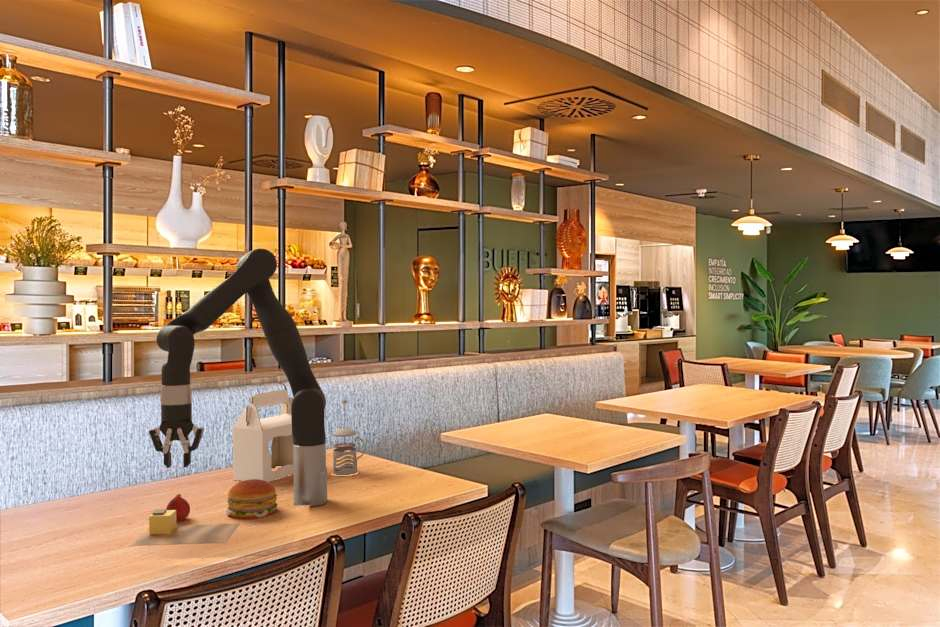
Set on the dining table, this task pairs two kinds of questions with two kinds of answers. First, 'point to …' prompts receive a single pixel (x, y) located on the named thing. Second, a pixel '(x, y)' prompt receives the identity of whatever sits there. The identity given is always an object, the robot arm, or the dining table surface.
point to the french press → (342, 447)
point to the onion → (179, 507)
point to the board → (189, 535)
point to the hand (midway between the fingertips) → (177, 466)
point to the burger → (251, 499)
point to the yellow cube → (162, 522)
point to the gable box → (263, 440)
